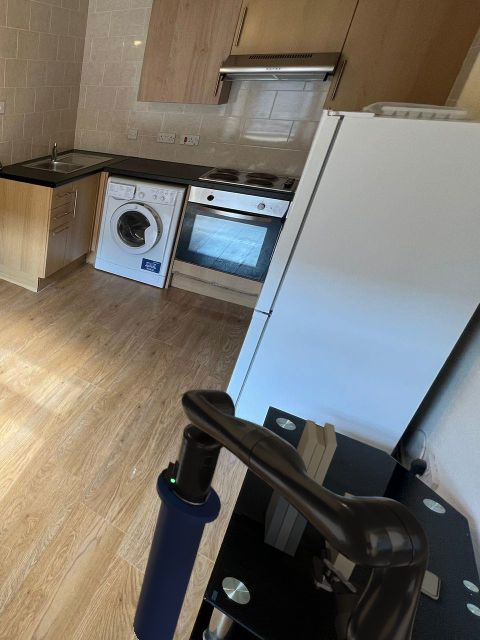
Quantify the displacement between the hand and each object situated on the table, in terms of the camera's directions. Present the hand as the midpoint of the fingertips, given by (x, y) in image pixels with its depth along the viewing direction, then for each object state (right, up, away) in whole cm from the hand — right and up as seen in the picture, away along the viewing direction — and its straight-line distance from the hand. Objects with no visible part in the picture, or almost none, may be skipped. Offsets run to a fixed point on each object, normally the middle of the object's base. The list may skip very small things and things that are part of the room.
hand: (352, 563), depth 87 cm
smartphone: (+19, -8, +10) cm, 22 cm away
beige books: (+18, 0, +34) cm, 38 cm away
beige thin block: (+5, -7, +10) cm, 13 cm away
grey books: (-4, -5, +16) cm, 17 cm away
